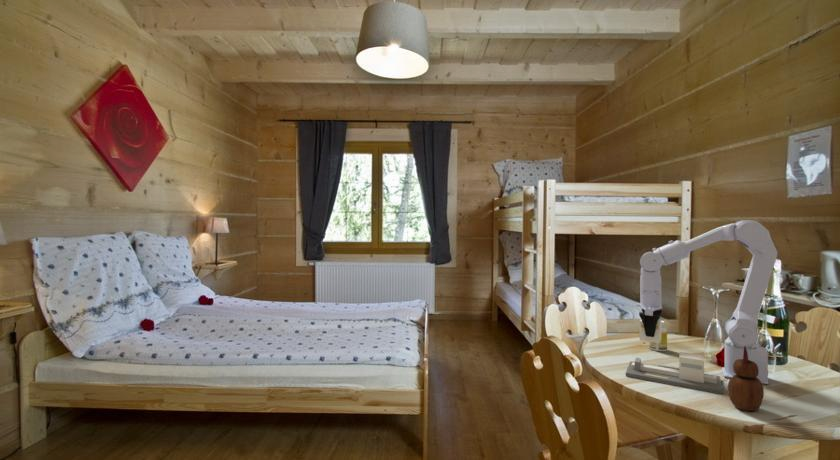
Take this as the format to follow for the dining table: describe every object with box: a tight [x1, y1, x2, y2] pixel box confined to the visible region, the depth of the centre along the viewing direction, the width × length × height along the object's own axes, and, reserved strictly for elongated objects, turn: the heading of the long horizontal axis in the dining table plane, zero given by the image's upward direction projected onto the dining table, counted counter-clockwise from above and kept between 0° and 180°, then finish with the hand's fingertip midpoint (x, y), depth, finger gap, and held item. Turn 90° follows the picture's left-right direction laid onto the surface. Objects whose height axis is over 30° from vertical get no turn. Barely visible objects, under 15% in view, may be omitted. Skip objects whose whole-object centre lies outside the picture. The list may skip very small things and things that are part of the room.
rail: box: [625, 351, 723, 395], centre depth 112 cm, size 22×11×7 cm, turn 56°
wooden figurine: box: [727, 346, 765, 412], centre depth 93 cm, size 7×6×15 cm
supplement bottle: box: [648, 320, 668, 352], centre depth 137 cm, size 5×5×10 cm
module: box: [639, 318, 662, 343], centre depth 124 cm, size 6×5×6 cm
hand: (650, 334), depth 124 cm, fingers closed on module, 5 cm apart
